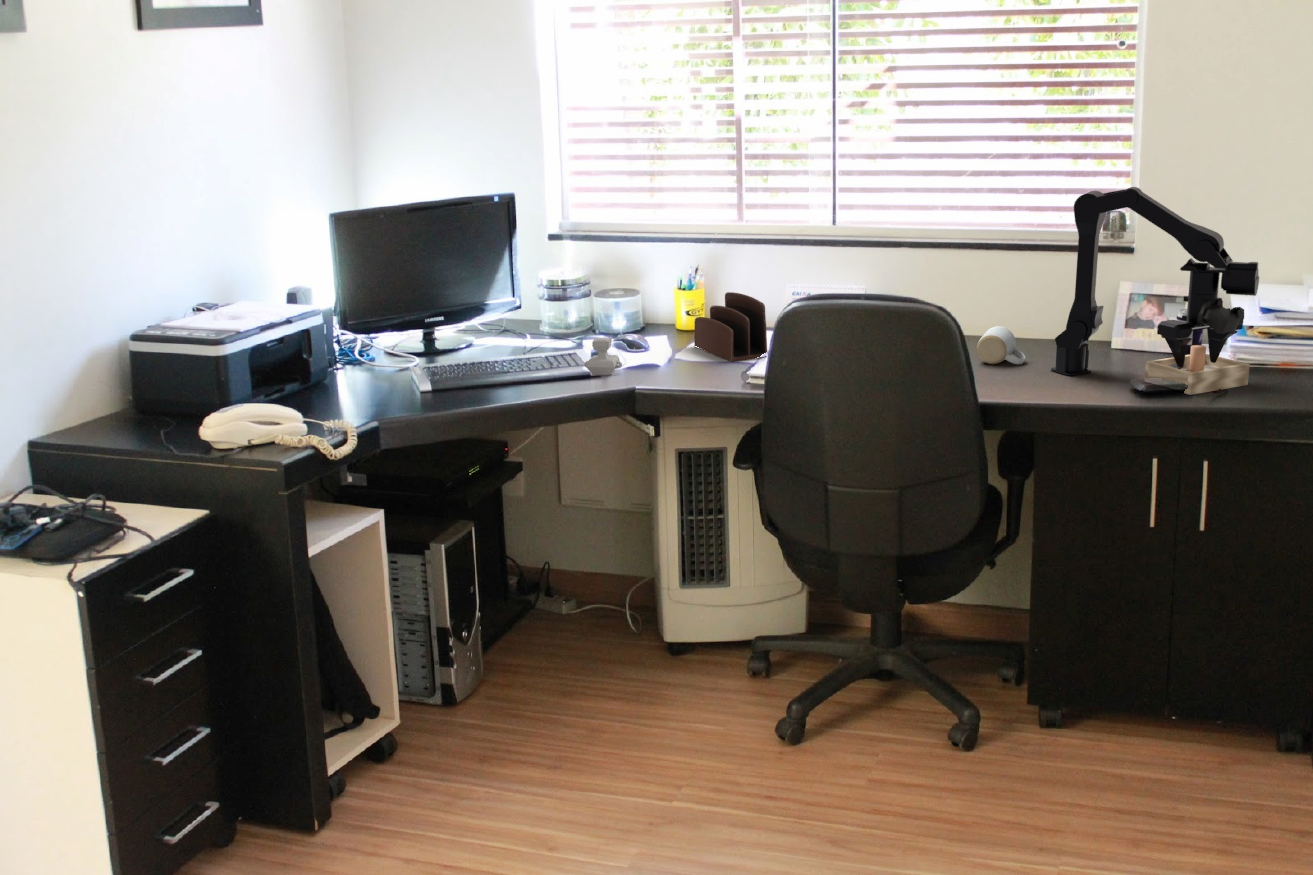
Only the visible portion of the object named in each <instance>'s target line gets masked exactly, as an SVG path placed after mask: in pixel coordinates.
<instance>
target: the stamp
mask: <svg viewBox="0 0 1313 875" xmlns="http://www.w3.org/2000/svg"><path fill="white" fill-rule="evenodd" d="M612 338H613V337H595V338H594V339H593V340H592V345H591V346H592V349H593V350H594V351H597V354H594V355H592V356H591V358H590V359H588V360H587V361H585V362H584V363H583V364H584V365H583V366H584V367H585V368H586V369H587V370H588V371H589V372H590V373H591V374H592V376H611V375H612V374H613V373H614V371H615V370H616V369H620V368H622V367H623V364H622V362H621V361H620V357H619V356H618V355H616V354H615V355H614V354H608V350H609V349H610V348H611V346H612V343H613V342H612V340H613V339H612Z"/></svg>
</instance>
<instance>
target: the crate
mask: <svg viewBox="0 0 1313 875" xmlns="http://www.w3.org/2000/svg"><path fill="white" fill-rule="evenodd" d="M1171 364H1176V361H1175V359H1174V356H1172V357H1166V358H1158V359H1152V360H1147V361H1145V368H1144V379H1149V378H1161V379H1165V380H1175V381H1180V382H1183V383H1185V384H1186V385H1188V388H1187V389H1185V391H1184V393H1183V394H1186V395H1190V396H1191V395H1197V394H1203V393H1208V392H1214V391H1220V390H1219V389H1221V390H1227V389H1231V388H1238V387H1242V386H1244V387H1245V386H1248V384H1249V374H1250V367H1251V366H1250V363H1247V362H1242V361H1238V360H1234V359H1231V358H1226V357H1221V356H1219V357H1218V359H1217V361H1216V362H1215V363H1212V362H1211V361H1210V356H1209V353H1206V355H1205V367H1204V370H1202V371H1196V372H1190V371H1189V364H1190V355H1185V361H1184V366H1183V368H1181V369H1178V368H1175V367H1171V366H1168V365H1171Z"/></svg>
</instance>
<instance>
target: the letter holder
mask: <svg viewBox="0 0 1313 875" xmlns="http://www.w3.org/2000/svg"><path fill="white" fill-rule="evenodd" d="M766 318H767V317H766V306H765V304H764V302H762V301H760V300H759V299H757V298H755V297H753V296H749V295H746V294H743V293H739V292H734V291H733V292H731V291H730V292H729V291H728V292H725V294H724V305H723V306H722V305H711V306H710V307H709V317H703V316H697V317H695V319H694V347H695V346H697V347H699V348H702V349H703V350H705V351H704V352H706V351H707V352H706V353H708V352H709V353H708V354H711V353H712V354H711V355H713V354H714V355H713V356H716V357H719V358H721V359H722V360H723V359H724V360H726V361H729V362H731V363H734V362H741V361H750V360H755V358H757V357H760V356H761V355H762V354H764V353H766V352H767V353H768V339H767V338H768V337H767V319H766ZM703 350H702V351H703ZM757 359H758V358H757Z"/></svg>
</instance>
